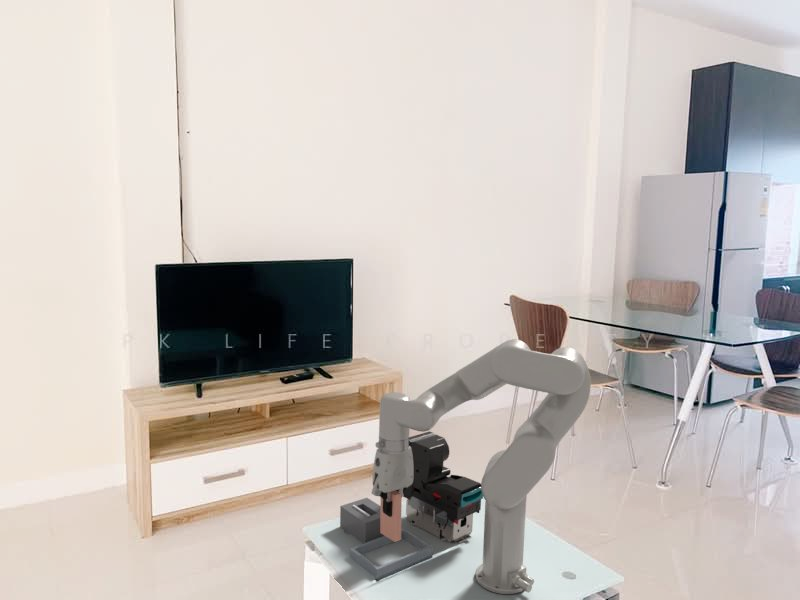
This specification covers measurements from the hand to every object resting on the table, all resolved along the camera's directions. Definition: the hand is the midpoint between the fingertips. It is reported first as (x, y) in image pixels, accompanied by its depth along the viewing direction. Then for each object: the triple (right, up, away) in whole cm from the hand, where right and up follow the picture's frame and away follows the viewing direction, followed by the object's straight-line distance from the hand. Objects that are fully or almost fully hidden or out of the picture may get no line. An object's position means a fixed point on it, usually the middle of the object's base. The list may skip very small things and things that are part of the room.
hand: (391, 512), depth 152 cm
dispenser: (-7, -11, +13) cm, 19 cm away
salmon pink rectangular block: (0, -6, +1) cm, 6 cm away
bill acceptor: (+13, -11, +17) cm, 24 cm away
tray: (0, -12, +1) cm, 12 cm away
